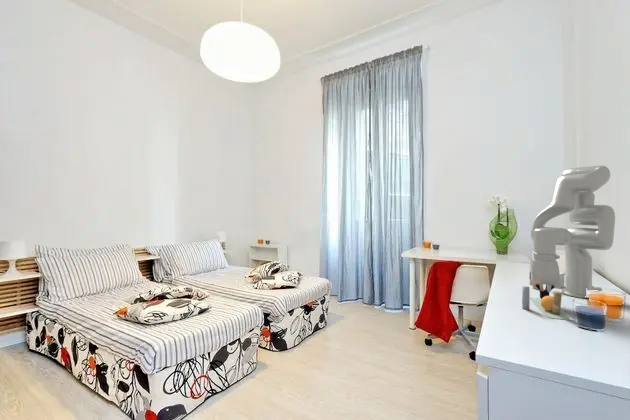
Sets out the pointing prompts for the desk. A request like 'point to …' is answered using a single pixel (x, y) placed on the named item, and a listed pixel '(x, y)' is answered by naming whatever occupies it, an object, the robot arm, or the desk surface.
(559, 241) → the robot arm
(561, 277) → the skincare box
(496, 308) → the desk surface
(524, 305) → the grey pin
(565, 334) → the desk surface
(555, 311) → the maple pin
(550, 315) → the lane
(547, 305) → the ball
